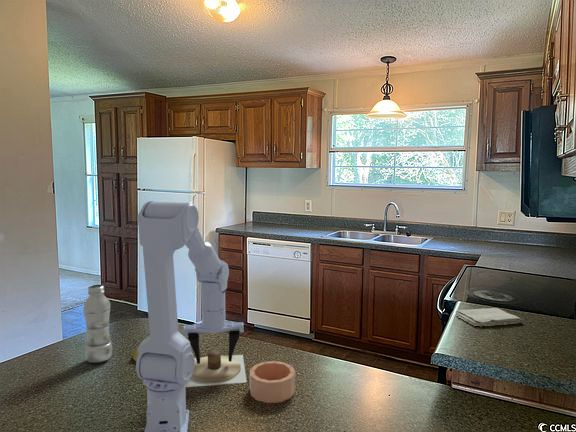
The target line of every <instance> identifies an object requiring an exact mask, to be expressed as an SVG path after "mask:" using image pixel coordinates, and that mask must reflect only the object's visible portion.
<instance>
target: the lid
mask: <svg viewBox="0 0 576 432" xmlns="http://www.w3.org/2000/svg"><path fill="white" fill-rule="evenodd" d="M202 357H203V356H202ZM202 357H200V364H197V360H195V365H194V371H193V374H192V376H191V378H192V379H193V380H196V381H199V382H204V383H216V382H222V381H226V380H229V379H231V378H233V377H235V376H236V375H238V373H239V372H240V370H241V364H240V362H239V361H238V360H237V359H235V358H233V357H232V361H231V362H229V356H228V355H222V354H221V351H220V350H210V351H208V352H207V356H204V357H203V358H202Z"/></svg>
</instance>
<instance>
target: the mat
mask: <svg viewBox="0 0 576 432" xmlns="http://www.w3.org/2000/svg"><path fill="white" fill-rule="evenodd" d="M232 357H233V358H235V359H237V360H238V361H239V362H240V364H241V370H240V372H239V373H238V375H236V376H235V377H233V378H231V379H229V380H226V381H222V382H216V383H204V382H199V381H196V380H193V379H192V378H190V380H189V381H188V382H187V383H186V384H185V388H193V387H195V388H196V387H207V386H221V385H232V384H245V383H247V376H246V375H247V374H246V367H245V361H244V360H245V359H244V354H234V355H232ZM201 358H203V356H202V357H201ZM194 359H195V360H196V357H194Z"/></svg>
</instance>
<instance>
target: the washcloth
mask: <svg viewBox="0 0 576 432" xmlns="http://www.w3.org/2000/svg"><path fill="white" fill-rule="evenodd" d="M455 313H456V315H459V316H461V317H463V318H465V319H467V320H469V321H471V322H473V323H486V322H505V321H506V322H507V321H522V322H523V318H521V317H519V316H517V315H514V314H511V313H508V312H507V311H504V309H503V310H502V309H500V308H498V307H492V308H491V307H490V308H489V307H488V308H484V307H483V308H473V309H458V310H456V312H455Z"/></svg>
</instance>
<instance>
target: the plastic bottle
mask: <svg viewBox="0 0 576 432" xmlns="http://www.w3.org/2000/svg"><path fill="white" fill-rule="evenodd" d="M87 287H88V288H87V290H88V292H87V295H88V298H87V299H86V300H85V303H84V304H83V315H84V319H85V327H86V343H85V349H84V356H85V359H86V360H87V362H88V363H91V364H98V363H103V362H105V361H107V360H109V359H110V358H111V356H112V354H113V344H112V341H111V336H110V334H111V333H110V315H111V314H110V312H111V307H112V306H111V302H110V300H109V299H108V298H107V296H105V286H104V284H99V283H97V284H93V285H92V284H91V285H89V286H87Z"/></svg>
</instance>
